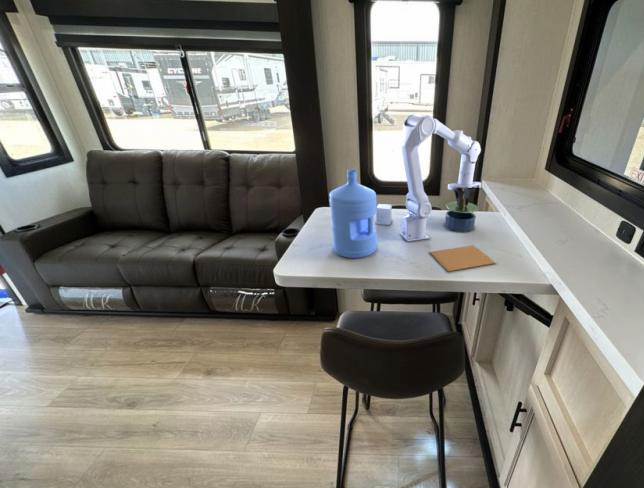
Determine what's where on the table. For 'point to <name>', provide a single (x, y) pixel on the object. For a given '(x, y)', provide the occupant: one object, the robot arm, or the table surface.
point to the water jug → (353, 218)
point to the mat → (461, 258)
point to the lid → (462, 207)
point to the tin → (459, 221)
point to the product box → (383, 214)
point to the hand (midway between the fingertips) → (462, 205)
